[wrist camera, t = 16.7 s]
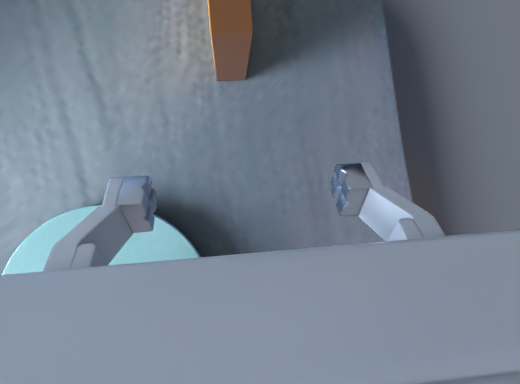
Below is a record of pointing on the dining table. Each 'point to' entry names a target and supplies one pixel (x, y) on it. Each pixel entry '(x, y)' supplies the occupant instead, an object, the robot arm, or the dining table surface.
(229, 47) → the toast
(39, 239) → the lid
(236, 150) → the dining table surface
